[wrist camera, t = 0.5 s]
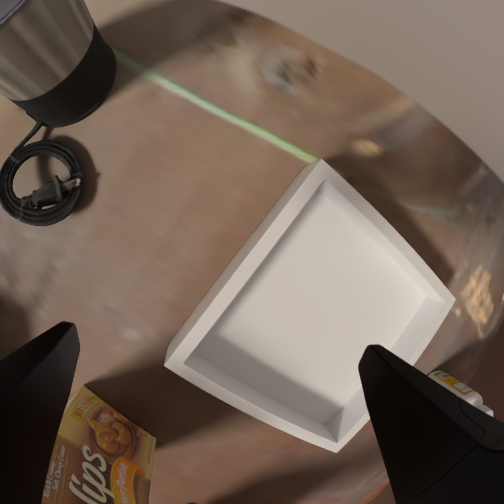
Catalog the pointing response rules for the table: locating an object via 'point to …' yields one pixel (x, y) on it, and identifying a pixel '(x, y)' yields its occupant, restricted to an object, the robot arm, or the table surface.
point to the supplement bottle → (460, 390)
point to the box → (310, 312)
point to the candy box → (98, 456)
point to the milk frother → (50, 93)
